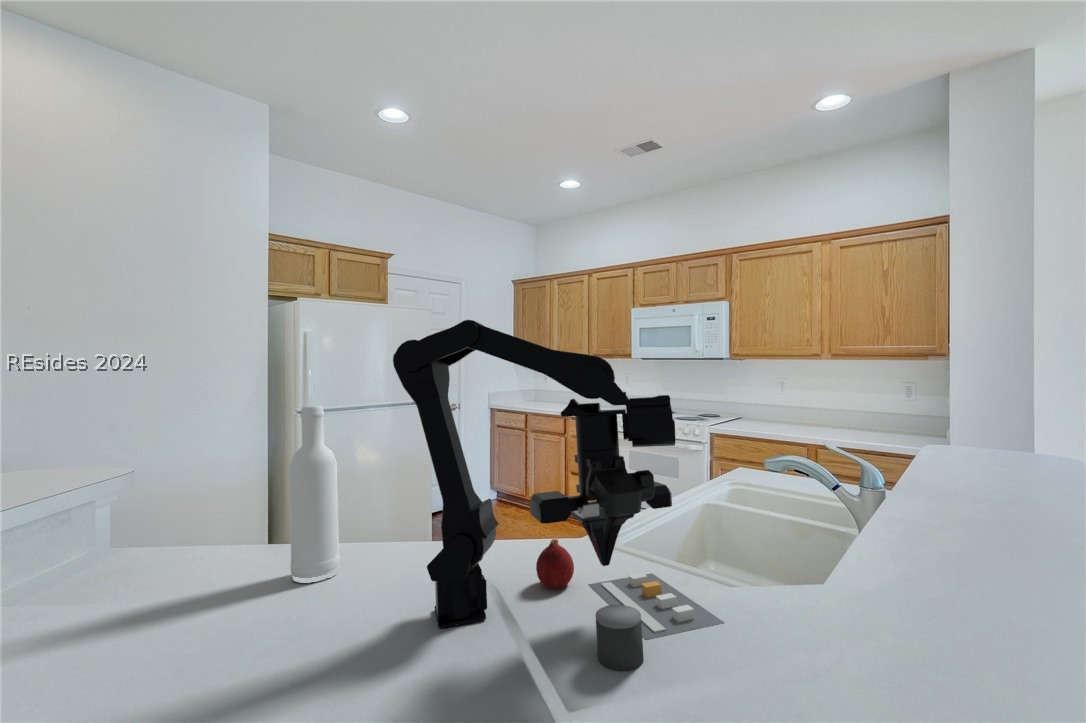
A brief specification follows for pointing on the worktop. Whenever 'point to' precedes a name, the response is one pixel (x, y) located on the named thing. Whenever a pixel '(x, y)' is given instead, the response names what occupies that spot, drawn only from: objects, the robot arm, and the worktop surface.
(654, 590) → the block
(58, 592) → the worktop surface
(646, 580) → the panel
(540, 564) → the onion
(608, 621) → the canister
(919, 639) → the worktop surface
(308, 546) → the bottle
